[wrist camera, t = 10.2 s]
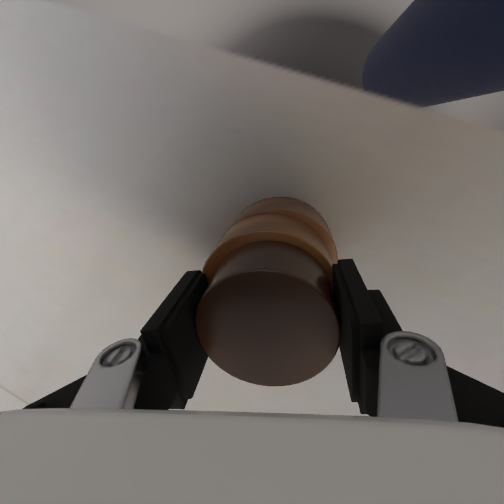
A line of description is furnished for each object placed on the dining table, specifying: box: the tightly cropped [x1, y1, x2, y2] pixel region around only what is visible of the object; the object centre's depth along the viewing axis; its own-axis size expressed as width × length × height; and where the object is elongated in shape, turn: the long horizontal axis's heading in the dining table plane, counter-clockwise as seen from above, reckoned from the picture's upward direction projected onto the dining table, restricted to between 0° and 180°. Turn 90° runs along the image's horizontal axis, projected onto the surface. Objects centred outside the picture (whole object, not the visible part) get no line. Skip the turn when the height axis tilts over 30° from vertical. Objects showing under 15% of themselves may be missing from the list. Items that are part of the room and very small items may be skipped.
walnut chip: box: [195, 241, 341, 386], centre depth 10 cm, size 5×5×2 cm
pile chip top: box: [202, 213, 333, 292], centre depth 13 cm, size 6×6×2 cm
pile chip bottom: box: [232, 197, 338, 264], centre depth 15 cm, size 6×6×2 cm
